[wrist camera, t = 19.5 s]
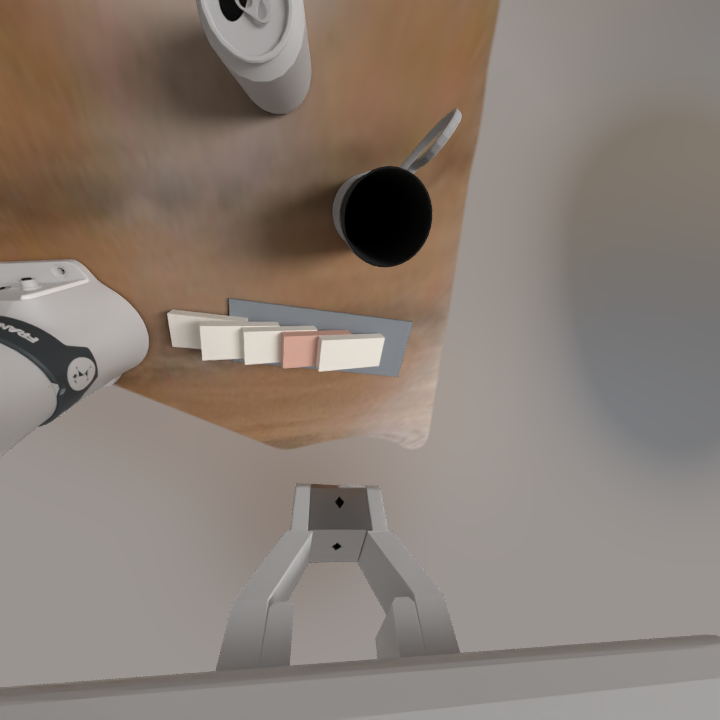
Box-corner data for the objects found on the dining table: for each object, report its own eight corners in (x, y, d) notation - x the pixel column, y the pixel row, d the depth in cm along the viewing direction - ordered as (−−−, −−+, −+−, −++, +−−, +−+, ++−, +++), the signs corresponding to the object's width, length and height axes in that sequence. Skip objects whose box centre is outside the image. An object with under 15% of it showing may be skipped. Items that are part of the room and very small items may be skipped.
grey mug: (318, 220, 36) (313, 231, 23) (390, 107, 32) (433, 42, 19) (371, 263, 40) (393, 293, 27) (443, 166, 35) (512, 145, 22)
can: (248, -5, 27) (196, -136, 16) (322, 47, 29) (319, -40, 18) (228, 90, 30) (174, 30, 19) (297, 131, 32) (282, 97, 21)
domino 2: (276, 351, 44) (202, 354, 40) (277, 321, 42) (199, 321, 37) (278, 356, 43) (202, 360, 38) (279, 326, 41) (199, 326, 36)
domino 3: (311, 354, 45) (243, 359, 41) (314, 325, 43) (242, 327, 38) (314, 359, 44) (244, 364, 40) (317, 329, 42) (243, 331, 37)
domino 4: (344, 358, 46) (280, 362, 42) (348, 329, 44) (281, 331, 39) (347, 363, 45) (283, 368, 41) (352, 334, 42) (284, 336, 38)
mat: (232, 359, 45) (231, 361, 44) (229, 298, 40) (228, 298, 40) (397, 375, 49) (398, 376, 49) (412, 321, 44) (412, 322, 44)
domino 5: (374, 361, 47) (315, 365, 43) (380, 333, 45) (318, 335, 40) (378, 366, 46) (318, 371, 41) (385, 337, 43) (321, 340, 39)
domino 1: (248, 348, 44) (177, 341, 42) (247, 317, 41) (172, 309, 40) (246, 353, 42) (172, 346, 41) (244, 321, 40) (167, 313, 38)
